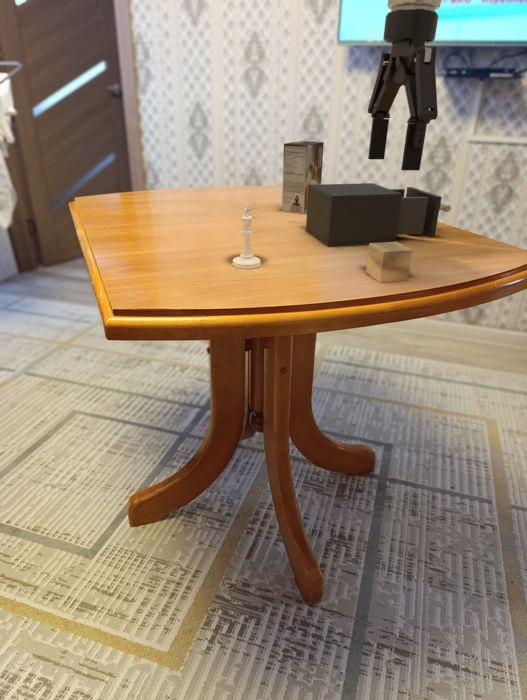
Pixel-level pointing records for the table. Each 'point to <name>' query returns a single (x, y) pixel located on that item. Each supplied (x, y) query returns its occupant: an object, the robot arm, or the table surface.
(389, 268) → the block
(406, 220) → the drawer
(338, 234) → the cabinet
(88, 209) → the table surface
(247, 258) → the chess piece
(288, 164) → the coffee box
